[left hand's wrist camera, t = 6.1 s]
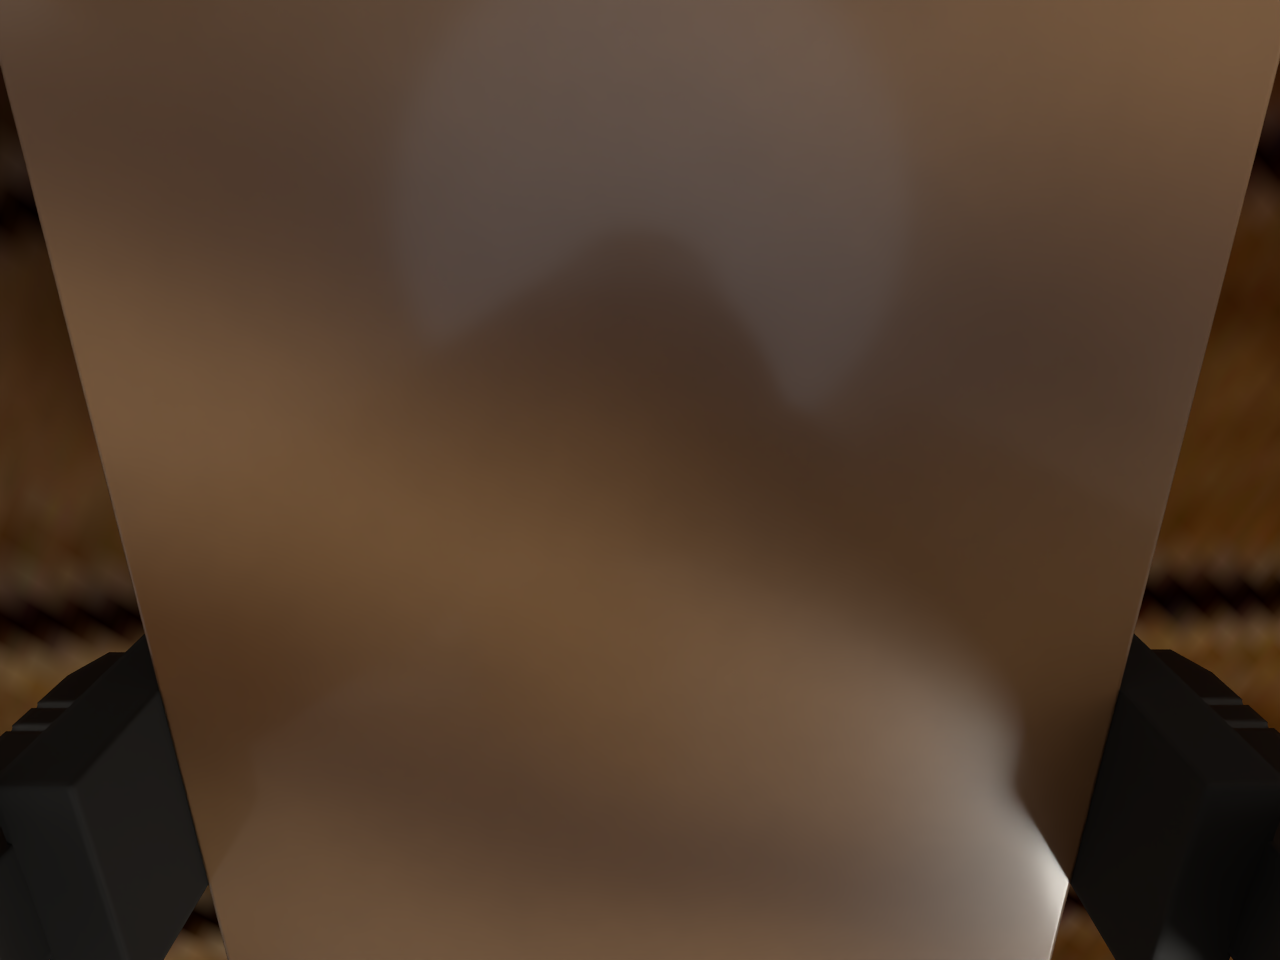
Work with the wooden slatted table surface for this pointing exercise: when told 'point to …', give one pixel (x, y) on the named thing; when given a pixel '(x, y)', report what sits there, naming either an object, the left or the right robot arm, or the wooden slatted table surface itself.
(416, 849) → the cabinet
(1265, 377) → the wooden slatted table surface
